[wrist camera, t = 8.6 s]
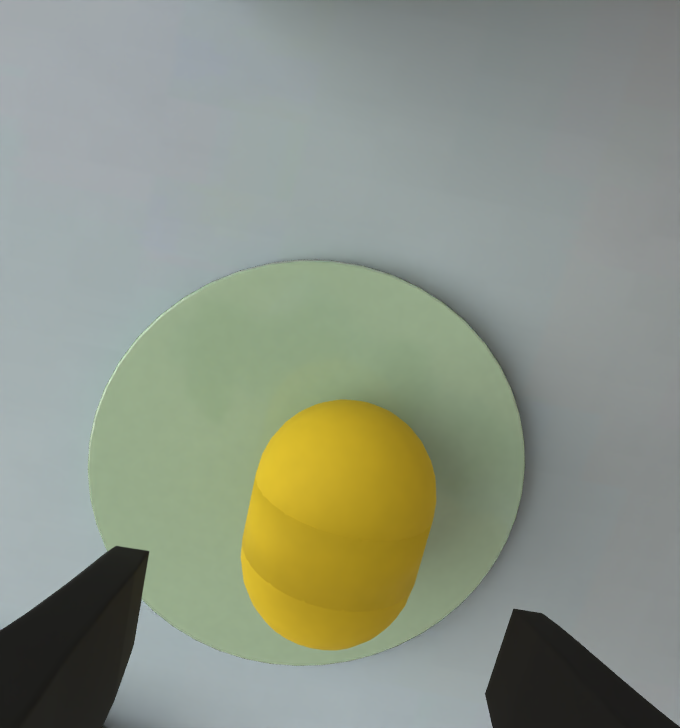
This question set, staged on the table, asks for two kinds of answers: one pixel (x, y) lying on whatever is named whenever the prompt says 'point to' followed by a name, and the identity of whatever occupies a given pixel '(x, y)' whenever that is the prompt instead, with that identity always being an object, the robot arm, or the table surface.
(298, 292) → the plate
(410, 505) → the yellow capsule
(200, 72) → the table surface
